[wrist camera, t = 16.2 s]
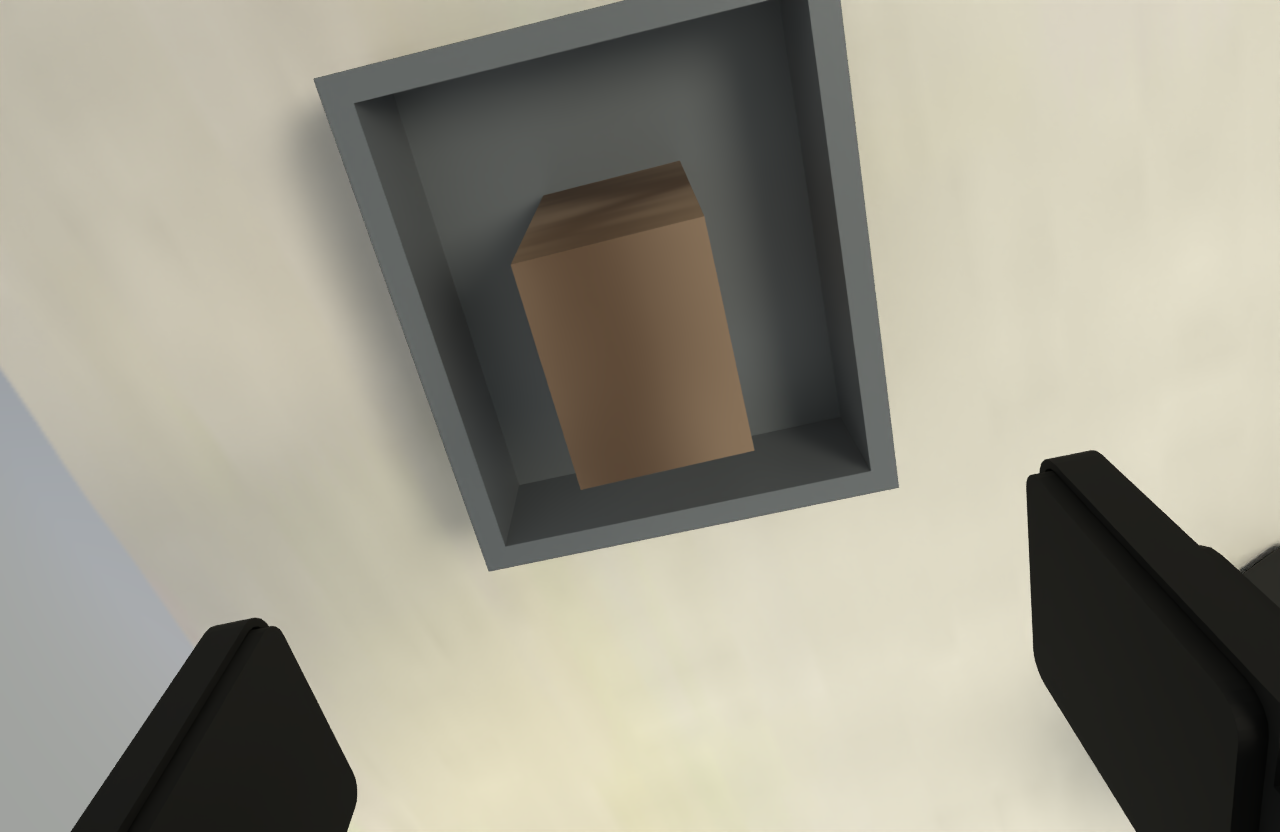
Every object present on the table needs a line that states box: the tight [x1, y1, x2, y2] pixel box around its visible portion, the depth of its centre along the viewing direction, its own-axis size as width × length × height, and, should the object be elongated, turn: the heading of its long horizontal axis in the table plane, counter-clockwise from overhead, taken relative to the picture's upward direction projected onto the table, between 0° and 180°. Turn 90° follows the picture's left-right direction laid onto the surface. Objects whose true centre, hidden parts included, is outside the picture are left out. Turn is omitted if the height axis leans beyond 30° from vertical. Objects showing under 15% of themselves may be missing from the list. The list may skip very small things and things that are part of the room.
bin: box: [314, 0, 899, 571], centre depth 27 cm, size 14×16×5 cm
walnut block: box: [511, 161, 754, 490], centre depth 25 cm, size 4×6×9 cm
